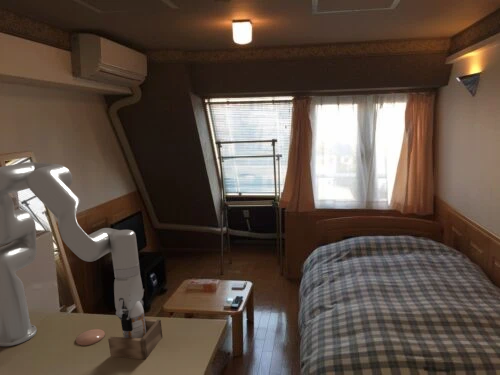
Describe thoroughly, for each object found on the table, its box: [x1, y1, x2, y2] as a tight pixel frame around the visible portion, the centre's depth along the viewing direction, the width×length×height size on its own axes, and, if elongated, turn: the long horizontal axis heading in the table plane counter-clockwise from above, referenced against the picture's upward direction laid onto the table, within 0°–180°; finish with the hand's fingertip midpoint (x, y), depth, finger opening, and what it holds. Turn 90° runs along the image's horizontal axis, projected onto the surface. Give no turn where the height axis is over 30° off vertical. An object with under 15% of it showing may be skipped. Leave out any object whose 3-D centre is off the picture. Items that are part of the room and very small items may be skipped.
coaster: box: [75, 328, 106, 346], centre depth 138 cm, size 9×9×1 cm
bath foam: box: [122, 301, 146, 338], centre depth 130 cm, size 7×7×20 cm
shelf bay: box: [107, 318, 163, 360], centre depth 131 cm, size 12×12×6 cm
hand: (133, 323), depth 130 cm, fingers closed on bath foam, 7 cm apart
